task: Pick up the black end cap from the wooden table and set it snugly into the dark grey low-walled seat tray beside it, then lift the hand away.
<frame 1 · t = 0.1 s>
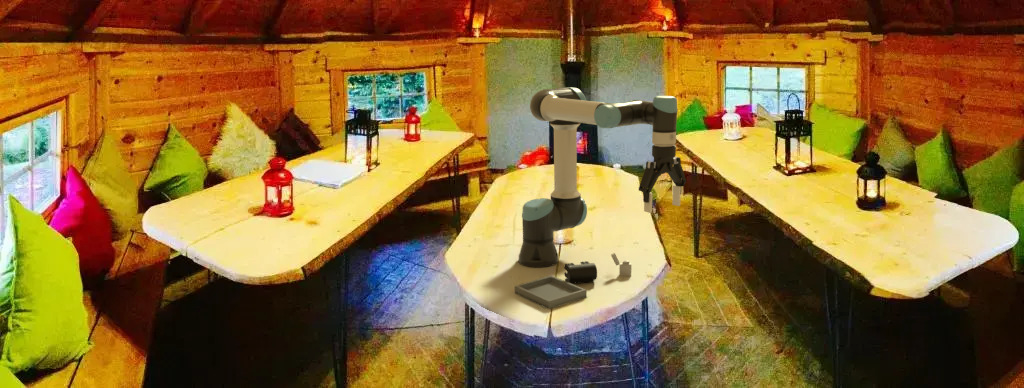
hand: (662, 208, 233), 28 cm above the table, tool pointing down, fingers open, 13 cm apart
lighter: (621, 275, 254), on the table
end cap: (580, 282, 248), on the table
seat tray: (550, 295, 236), on the table
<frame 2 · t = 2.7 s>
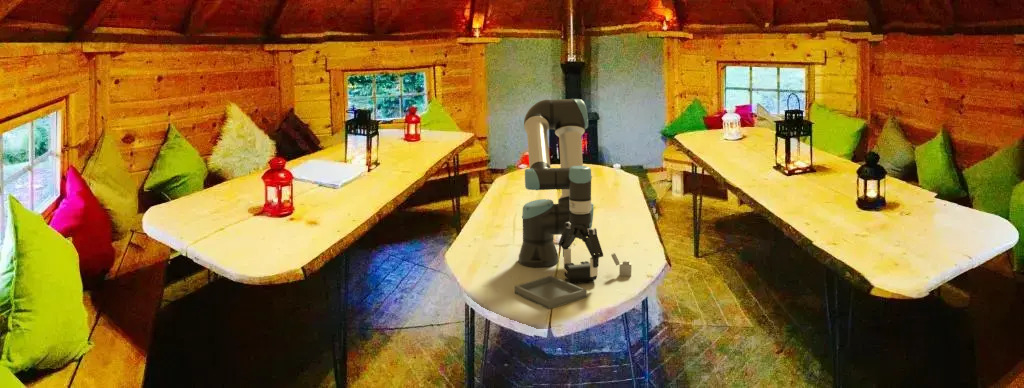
hand: (580, 271, 246), 4 cm above the table, tool pointing down, fingers open, 13 cm apart
nothing on the table moved.
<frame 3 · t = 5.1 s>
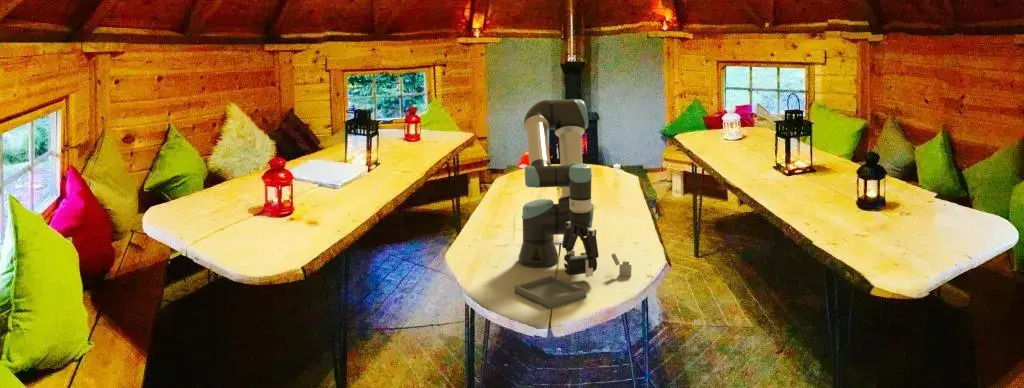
hand: (580, 272, 247), 3 cm above the table, tool pointing down, fingers closed on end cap, 9 cm apart
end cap: (580, 273, 248), point 3 cm above the table, touching gripper
everything else where it was.
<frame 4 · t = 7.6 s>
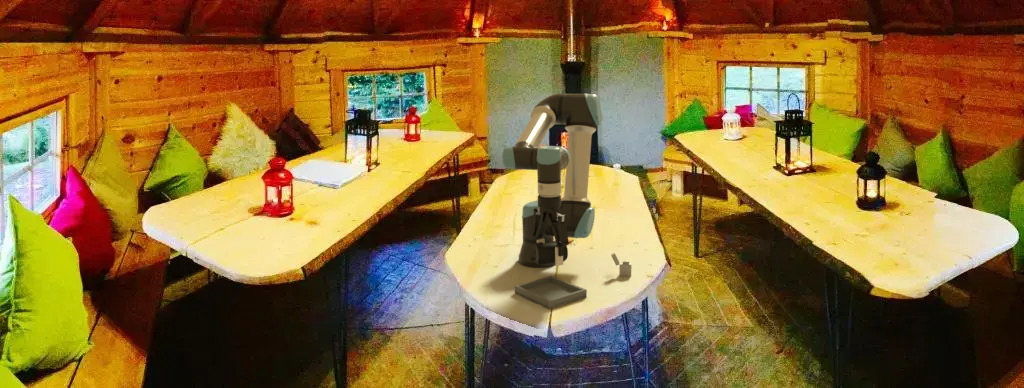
hand: (549, 261, 233), 12 cm above the table, tool pointing down, fingers closed on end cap, 9 cm apart
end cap: (550, 263, 233), point 11 cm above the table, touching gripper
everything else where it was.
when the fingers open (2 cm above the table, at t = 10.0 s): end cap drops 1 cm, resting on seat tray.
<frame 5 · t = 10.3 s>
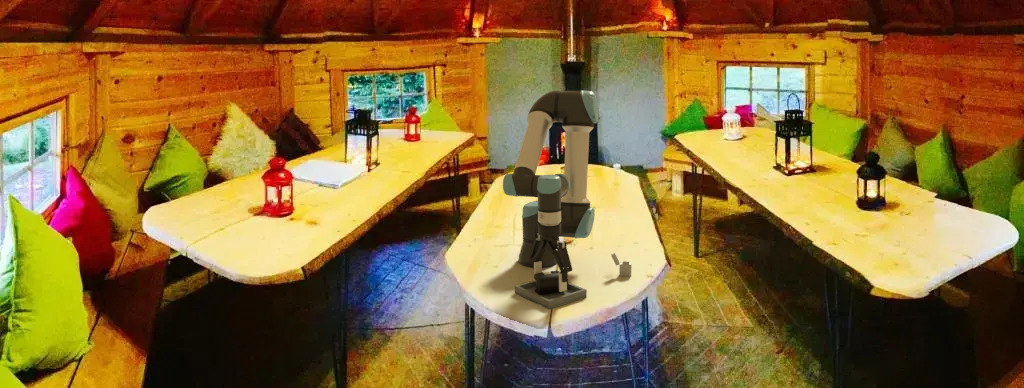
hand: (550, 285, 235), 3 cm above the table, tool pointing down, fingers open, 12 cm apart
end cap: (550, 293, 236), point 1 cm above the table, touching seat tray
everything else where it was.
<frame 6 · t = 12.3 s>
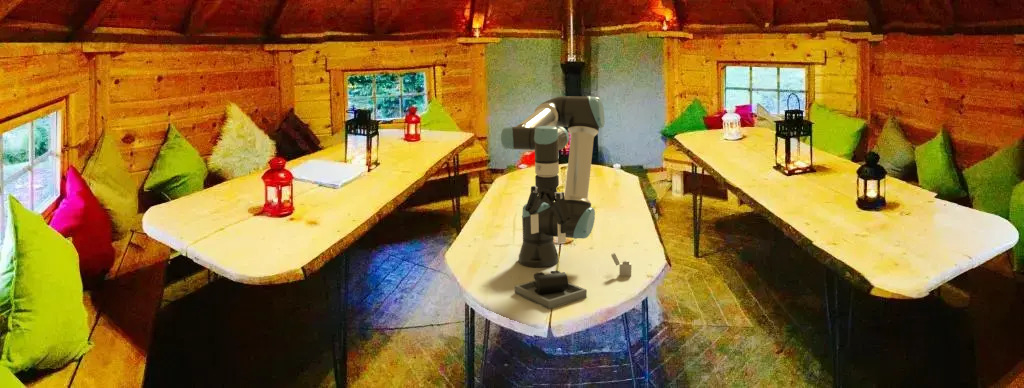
hand: (548, 237, 233), 19 cm above the table, tool pointing down, fingers open, 13 cm apart
nothing on the table moved.
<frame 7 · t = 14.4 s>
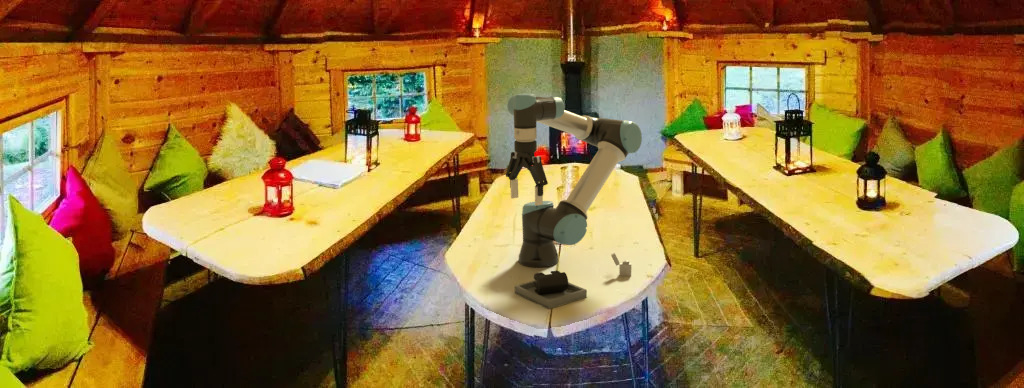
hand: (526, 201, 244), 29 cm above the table, tool pointing down, fingers open, 13 cm apart
nothing on the table moved.
at the end: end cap inside the target area on the seat tray (0.2 cm from its centre), point 0.6 cm above the seat tray's base; the gripper is holding nothing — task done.
